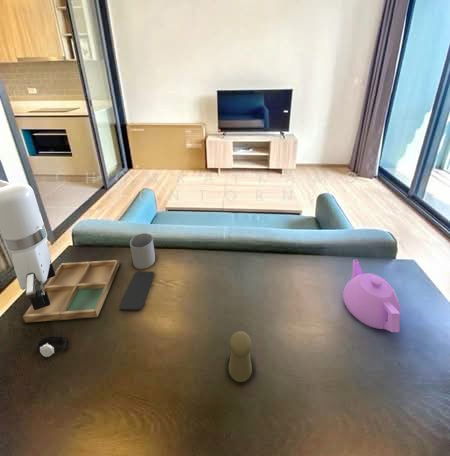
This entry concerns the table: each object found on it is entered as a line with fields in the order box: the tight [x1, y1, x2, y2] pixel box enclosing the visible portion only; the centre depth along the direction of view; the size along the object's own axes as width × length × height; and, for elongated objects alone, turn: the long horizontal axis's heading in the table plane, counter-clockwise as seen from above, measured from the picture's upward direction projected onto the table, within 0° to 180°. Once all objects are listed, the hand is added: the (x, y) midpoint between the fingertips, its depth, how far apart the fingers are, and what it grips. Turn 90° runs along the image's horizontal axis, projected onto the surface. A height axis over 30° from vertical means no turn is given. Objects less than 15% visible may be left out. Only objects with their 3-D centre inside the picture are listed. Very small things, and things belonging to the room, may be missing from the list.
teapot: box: [342, 259, 402, 333], centre depth 77 cm, size 22×16×12 cm
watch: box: [35, 335, 67, 358], centre depth 68 cm, size 8×5×4 cm, turn 87°
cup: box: [129, 232, 156, 270], centre depth 97 cm, size 8×8×10 cm
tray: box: [22, 259, 120, 323], centre depth 86 cm, size 21×21×2 cm
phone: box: [119, 270, 155, 311], centre depth 86 cm, size 7×1×15 cm
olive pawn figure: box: [228, 330, 253, 383], centre depth 62 cm, size 6×6×11 cm
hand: (45, 291), depth 64 cm, fingers open, 9 cm apart
